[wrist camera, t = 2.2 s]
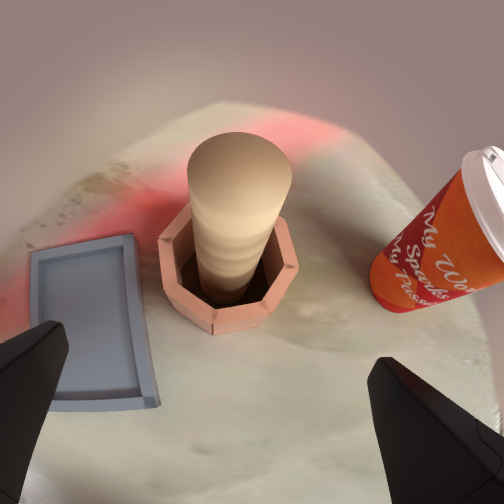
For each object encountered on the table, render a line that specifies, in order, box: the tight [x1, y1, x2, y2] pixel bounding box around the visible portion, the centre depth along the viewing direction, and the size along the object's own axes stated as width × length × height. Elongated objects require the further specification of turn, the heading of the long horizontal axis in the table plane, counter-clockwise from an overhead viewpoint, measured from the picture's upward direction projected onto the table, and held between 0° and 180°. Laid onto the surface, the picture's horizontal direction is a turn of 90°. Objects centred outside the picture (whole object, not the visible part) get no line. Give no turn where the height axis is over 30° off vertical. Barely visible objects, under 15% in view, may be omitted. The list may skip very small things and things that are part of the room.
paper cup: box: [369, 146, 504, 313], centre depth 16 cm, size 8×8×14 cm
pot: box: [158, 201, 299, 335], centre depth 19 cm, size 8×8×5 cm
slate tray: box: [30, 233, 161, 412], centre depth 18 cm, size 12×9×2 cm
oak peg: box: [187, 132, 292, 303], centre depth 15 cm, size 4×4×12 cm
